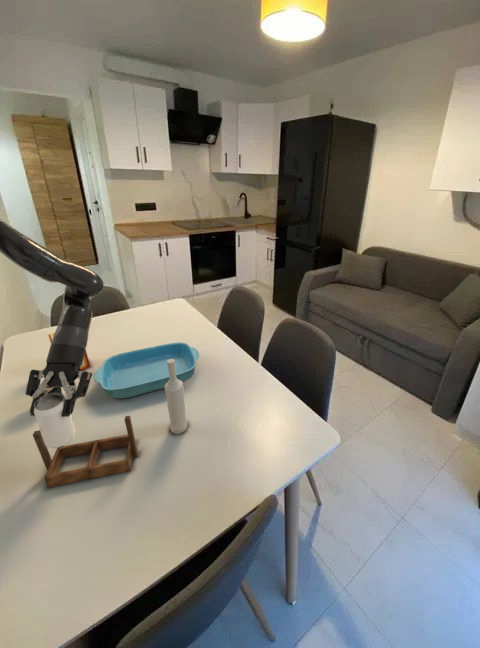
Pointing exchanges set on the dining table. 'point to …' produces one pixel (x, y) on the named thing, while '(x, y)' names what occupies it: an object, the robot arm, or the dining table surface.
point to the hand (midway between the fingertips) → (50, 415)
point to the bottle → (175, 400)
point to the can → (53, 420)
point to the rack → (89, 447)
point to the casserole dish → (145, 369)
